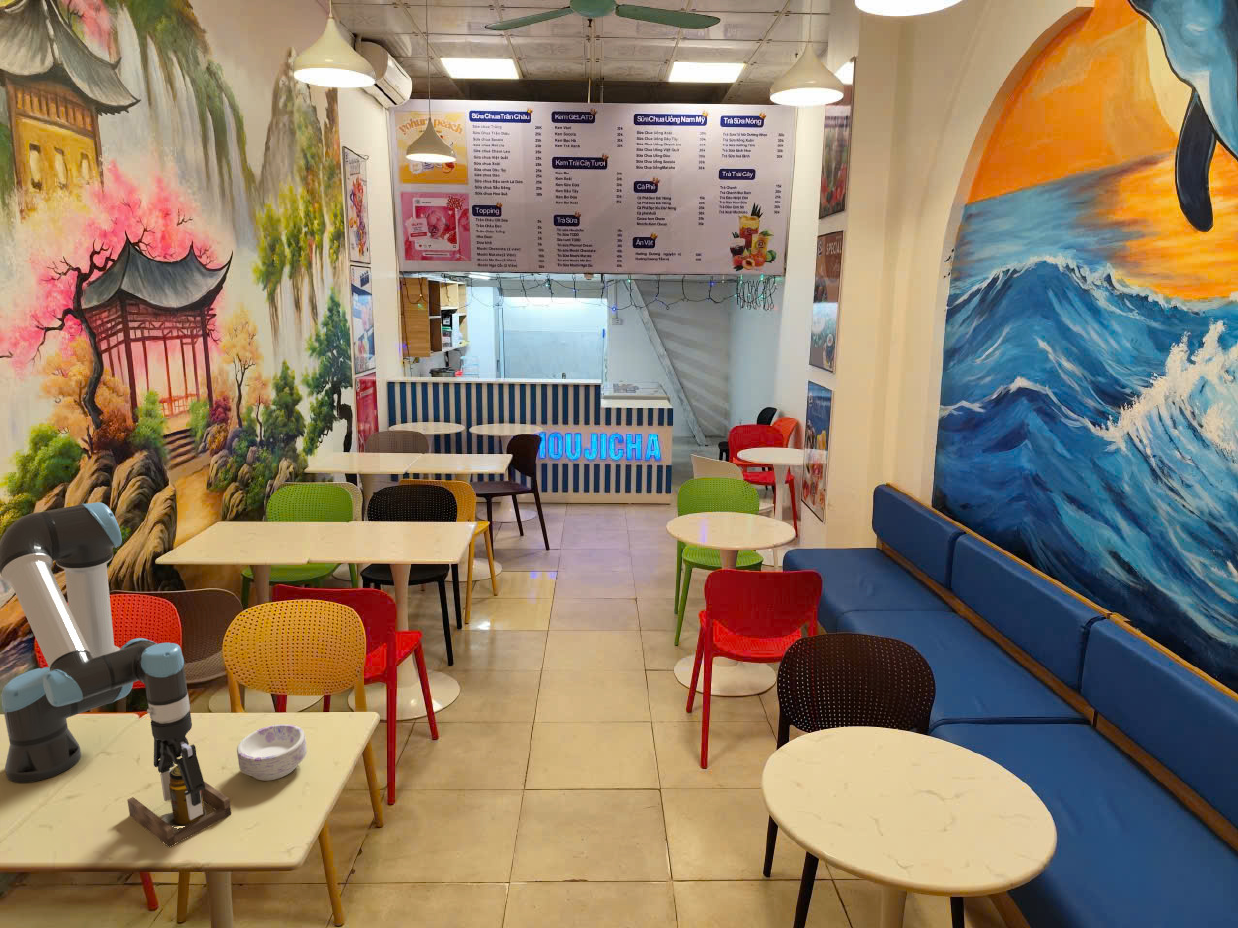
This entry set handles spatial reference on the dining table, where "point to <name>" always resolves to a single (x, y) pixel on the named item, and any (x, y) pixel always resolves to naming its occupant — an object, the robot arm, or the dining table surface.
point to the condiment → (179, 802)
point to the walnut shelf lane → (170, 838)
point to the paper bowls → (272, 751)
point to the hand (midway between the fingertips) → (183, 806)
